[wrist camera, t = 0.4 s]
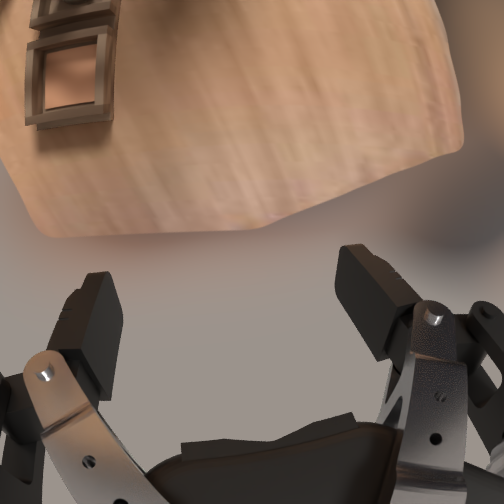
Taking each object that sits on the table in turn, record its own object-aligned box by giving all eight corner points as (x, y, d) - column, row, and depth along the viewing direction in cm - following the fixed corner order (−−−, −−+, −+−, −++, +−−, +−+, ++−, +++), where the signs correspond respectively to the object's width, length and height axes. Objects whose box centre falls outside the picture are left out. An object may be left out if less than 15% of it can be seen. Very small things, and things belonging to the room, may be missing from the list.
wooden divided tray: (57, -37, 18) (21, -67, 8) (130, -52, 20) (112, -95, 10) (42, 129, 29) (-7, 146, 19) (113, 119, 31) (81, 130, 21)
